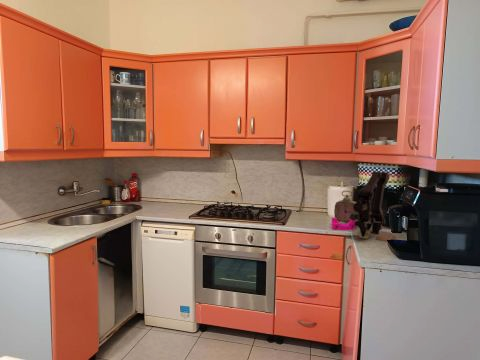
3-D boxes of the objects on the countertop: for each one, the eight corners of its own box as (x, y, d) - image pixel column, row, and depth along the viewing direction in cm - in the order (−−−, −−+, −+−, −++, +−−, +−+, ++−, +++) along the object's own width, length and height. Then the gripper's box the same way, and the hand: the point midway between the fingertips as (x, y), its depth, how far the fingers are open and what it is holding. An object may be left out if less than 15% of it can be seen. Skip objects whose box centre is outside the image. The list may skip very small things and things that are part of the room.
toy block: (333, 230, 209) (333, 219, 208) (331, 228, 215) (331, 217, 214) (356, 230, 207) (356, 219, 207) (354, 228, 214) (354, 217, 213)
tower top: (382, 233, 191) (382, 228, 190) (394, 235, 186) (394, 230, 186) (378, 235, 185) (379, 230, 185) (391, 237, 181) (391, 232, 181)
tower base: (380, 237, 193) (380, 232, 192) (396, 240, 187) (396, 235, 186) (375, 240, 186) (375, 235, 186) (391, 243, 180) (391, 238, 180)
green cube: (362, 236, 193) (362, 228, 192) (369, 237, 190) (369, 230, 189) (359, 237, 189) (359, 230, 189) (366, 238, 186) (367, 231, 186)
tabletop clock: (333, 226, 220) (334, 190, 218) (337, 223, 228) (338, 189, 226) (355, 228, 213) (356, 192, 210) (358, 226, 220) (359, 190, 218)
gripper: (358, 206, 200) (357, 230, 202) (345, 210, 187) (345, 236, 188) (376, 208, 193) (375, 233, 194) (364, 213, 179) (363, 239, 181)
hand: (364, 235), depth 190 cm, fingers closed on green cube, 4 cm apart
